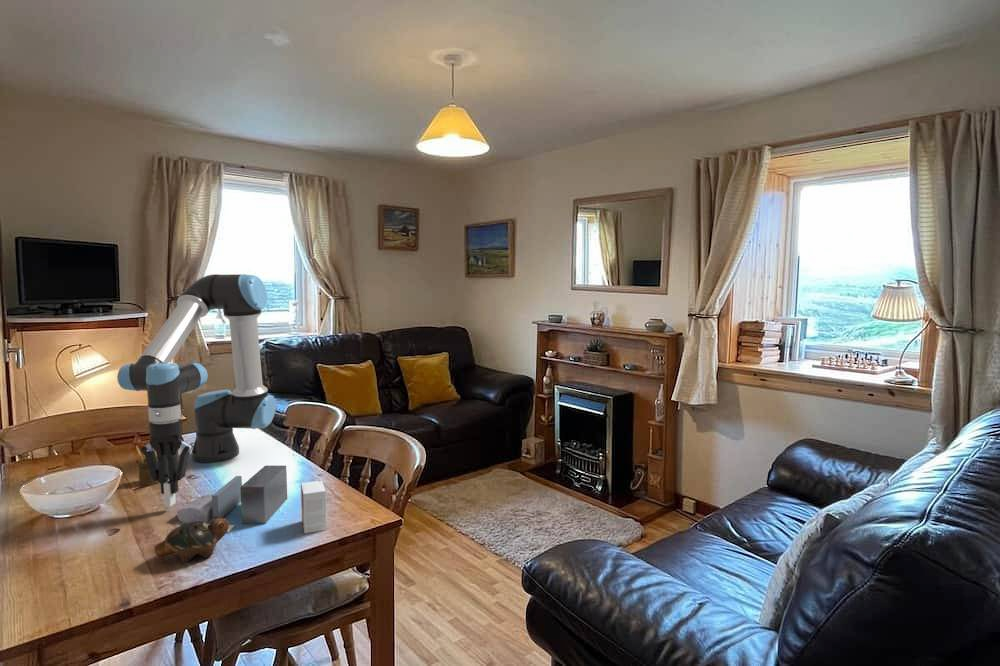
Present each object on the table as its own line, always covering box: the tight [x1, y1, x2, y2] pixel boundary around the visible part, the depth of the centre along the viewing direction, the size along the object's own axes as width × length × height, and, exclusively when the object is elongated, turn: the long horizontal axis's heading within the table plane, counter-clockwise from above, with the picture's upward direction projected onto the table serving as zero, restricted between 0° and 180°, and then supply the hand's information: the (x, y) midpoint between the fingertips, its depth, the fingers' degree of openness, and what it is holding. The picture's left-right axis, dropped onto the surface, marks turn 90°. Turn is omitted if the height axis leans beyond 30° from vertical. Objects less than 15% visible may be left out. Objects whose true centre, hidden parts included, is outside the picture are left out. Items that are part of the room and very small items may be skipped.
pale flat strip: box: [226, 524, 235, 533], centre depth 140 cm, size 3×10×1 cm, turn 91°
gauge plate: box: [207, 475, 243, 524], centre depth 148 cm, size 19×2×7 cm, turn 1°
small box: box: [300, 480, 328, 535], centre depth 142 cm, size 8×6×10 cm
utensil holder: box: [135, 445, 160, 486], centre depth 170 cm, size 6×6×12 cm
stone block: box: [176, 493, 214, 523], centre depth 149 cm, size 12×5×10 cm
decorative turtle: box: [154, 517, 230, 563], centre depth 126 cm, size 10×15×8 cm, turn 123°
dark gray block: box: [240, 465, 288, 525], centre depth 150 cm, size 16×6×10 cm, turn 1°
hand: (170, 504), depth 150 cm, fingers closed
